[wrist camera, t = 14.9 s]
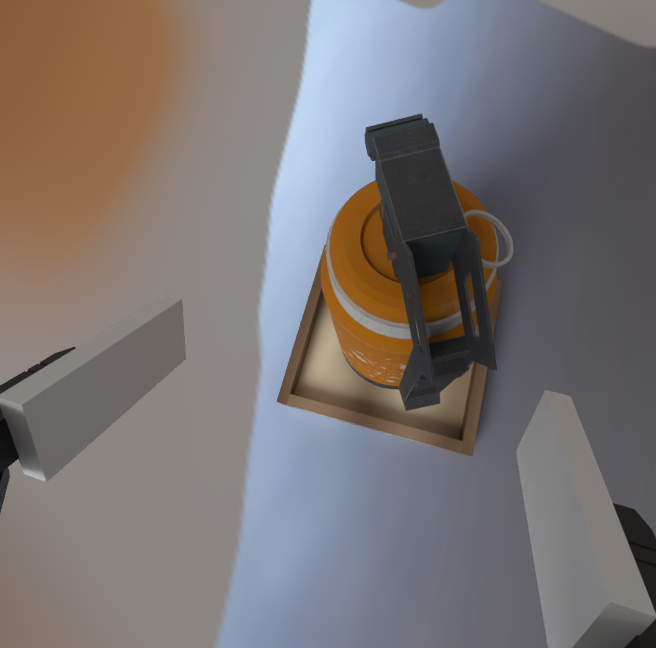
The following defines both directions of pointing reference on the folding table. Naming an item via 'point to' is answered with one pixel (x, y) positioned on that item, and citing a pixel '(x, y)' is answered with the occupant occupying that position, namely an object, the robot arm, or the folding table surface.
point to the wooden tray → (373, 401)
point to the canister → (412, 269)
